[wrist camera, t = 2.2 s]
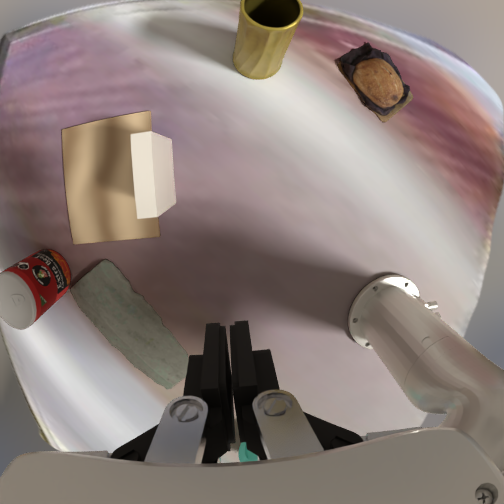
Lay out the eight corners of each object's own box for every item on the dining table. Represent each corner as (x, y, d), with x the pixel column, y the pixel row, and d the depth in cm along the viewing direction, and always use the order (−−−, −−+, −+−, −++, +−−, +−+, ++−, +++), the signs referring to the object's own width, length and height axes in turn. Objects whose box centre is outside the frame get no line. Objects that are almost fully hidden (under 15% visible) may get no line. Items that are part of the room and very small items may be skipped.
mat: (150, 111, 33) (150, 110, 32) (160, 236, 37) (159, 236, 37) (63, 129, 32) (62, 129, 32) (74, 243, 37) (73, 244, 36)
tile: (171, 139, 34) (150, 131, 25) (176, 203, 36) (157, 217, 27) (154, 141, 34) (129, 134, 24) (159, 204, 36) (136, 219, 27)
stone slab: (110, 250, 39) (67, 291, 39) (104, 255, 37) (60, 298, 36) (209, 358, 45) (164, 389, 45) (210, 367, 43) (163, 399, 43)
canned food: (81, 279, 38) (43, 313, 28) (52, 304, 39) (16, 339, 29) (51, 236, 36) (7, 260, 26) (25, 265, 37) (-17, 292, 26)
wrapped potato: (413, 97, 35) (427, 94, 31) (378, 127, 36) (391, 124, 32) (369, 39, 32) (380, 30, 28) (329, 65, 33) (338, 56, 29)
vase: (234, 37, 31) (237, -22, 17) (282, 41, 31) (309, -14, 18) (231, 78, 32) (231, 31, 19) (280, 82, 33) (308, 39, 19)
